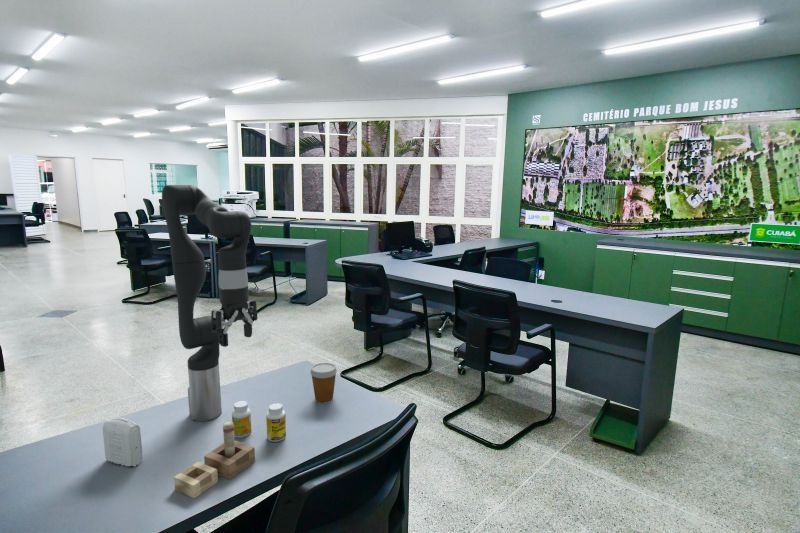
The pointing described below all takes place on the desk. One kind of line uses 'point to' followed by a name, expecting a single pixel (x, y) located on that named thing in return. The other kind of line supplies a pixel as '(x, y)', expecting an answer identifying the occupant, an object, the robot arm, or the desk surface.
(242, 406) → the supplement bottle
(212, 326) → the robot arm
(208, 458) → the brown wooden square frame
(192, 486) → the light wood hollow block
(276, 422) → the supplement bottle
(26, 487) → the desk surface
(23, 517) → the desk surface
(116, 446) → the photo printer
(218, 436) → the desk surface
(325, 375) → the disposable coffee cup
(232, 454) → the wooden peg
